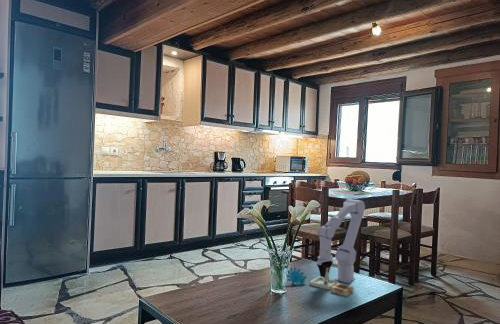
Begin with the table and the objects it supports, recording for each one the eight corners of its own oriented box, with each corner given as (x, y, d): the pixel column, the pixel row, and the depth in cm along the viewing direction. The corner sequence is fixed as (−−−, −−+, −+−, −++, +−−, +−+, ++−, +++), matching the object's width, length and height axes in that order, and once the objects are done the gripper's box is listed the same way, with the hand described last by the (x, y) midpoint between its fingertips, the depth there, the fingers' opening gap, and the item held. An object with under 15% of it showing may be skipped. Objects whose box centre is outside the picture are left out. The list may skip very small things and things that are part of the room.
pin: (324, 281, 184) (323, 266, 185) (331, 282, 181) (330, 267, 182) (321, 283, 181) (320, 267, 182) (327, 284, 178) (326, 268, 179)
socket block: (337, 287, 179) (337, 282, 179) (352, 291, 174) (353, 286, 174) (330, 291, 172) (331, 286, 172) (346, 296, 167) (346, 291, 167)
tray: (319, 279, 190) (319, 276, 190) (338, 284, 183) (338, 281, 183) (309, 284, 181) (309, 281, 181) (329, 290, 174) (329, 286, 174)
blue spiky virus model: (288, 283, 177) (286, 265, 184) (284, 289, 181) (283, 271, 188) (308, 286, 179) (306, 268, 186) (304, 291, 183) (302, 273, 190)
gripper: (324, 245, 190) (323, 270, 190) (311, 250, 179) (310, 277, 179) (336, 248, 186) (335, 273, 186) (324, 253, 174) (323, 280, 174)
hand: (324, 275), depth 182 cm, fingers closed on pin, 4 cm apart
